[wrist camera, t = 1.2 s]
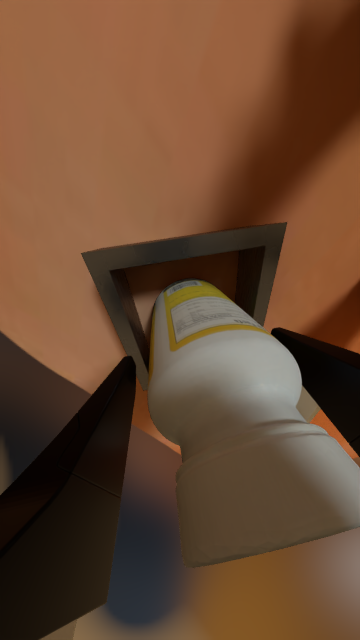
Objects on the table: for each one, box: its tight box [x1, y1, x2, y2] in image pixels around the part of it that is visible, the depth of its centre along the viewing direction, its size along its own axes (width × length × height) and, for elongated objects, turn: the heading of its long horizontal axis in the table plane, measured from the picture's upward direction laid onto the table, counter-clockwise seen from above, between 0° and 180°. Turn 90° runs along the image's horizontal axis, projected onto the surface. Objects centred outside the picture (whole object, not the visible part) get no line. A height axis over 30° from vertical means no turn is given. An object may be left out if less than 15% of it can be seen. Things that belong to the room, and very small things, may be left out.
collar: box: [81, 222, 287, 391], centre depth 12 cm, size 11×12×3 cm
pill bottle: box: [148, 278, 360, 568], centre depth 8 cm, size 6×6×12 cm
